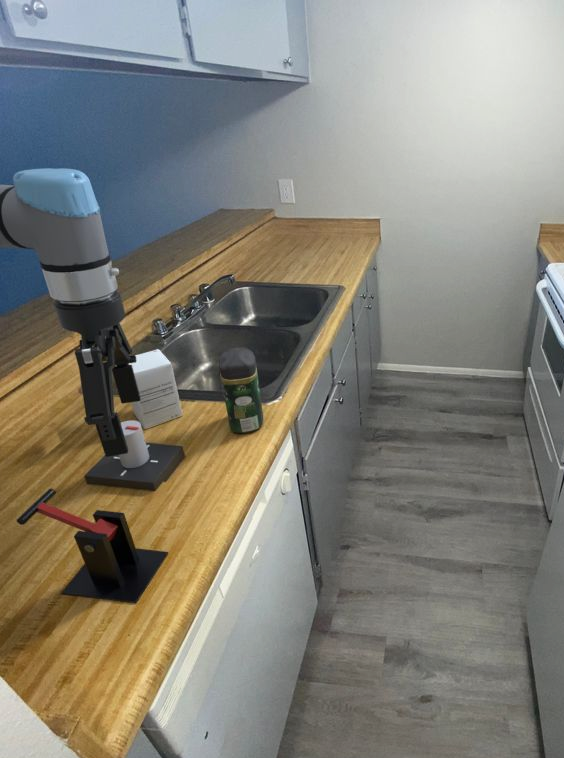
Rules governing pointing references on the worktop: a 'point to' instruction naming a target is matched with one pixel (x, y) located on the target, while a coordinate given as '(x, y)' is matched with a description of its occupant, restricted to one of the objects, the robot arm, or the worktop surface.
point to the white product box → (155, 390)
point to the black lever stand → (113, 563)
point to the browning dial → (134, 445)
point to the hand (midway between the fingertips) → (124, 425)
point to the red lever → (66, 517)
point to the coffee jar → (241, 390)
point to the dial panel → (138, 469)
